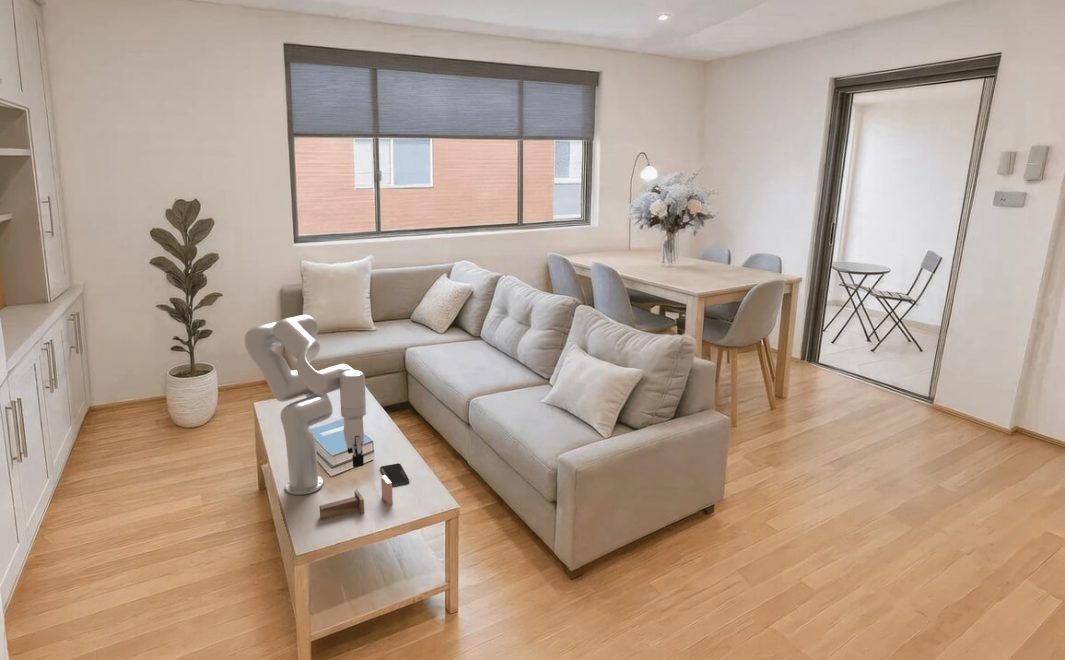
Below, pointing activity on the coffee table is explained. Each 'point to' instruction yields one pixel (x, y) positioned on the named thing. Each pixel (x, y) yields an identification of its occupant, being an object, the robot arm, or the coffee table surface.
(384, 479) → the tile
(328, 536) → the coffee table surface
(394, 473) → the phone
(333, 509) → the post on base stand
